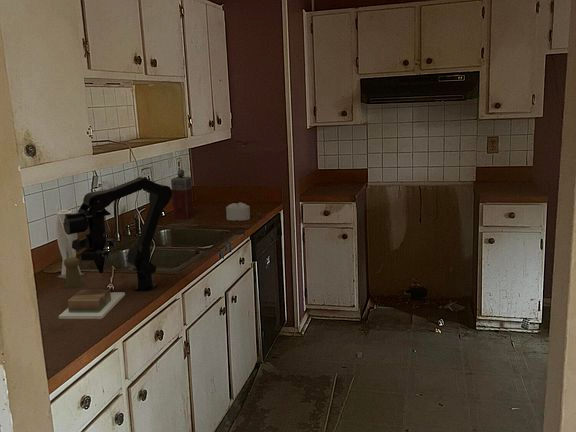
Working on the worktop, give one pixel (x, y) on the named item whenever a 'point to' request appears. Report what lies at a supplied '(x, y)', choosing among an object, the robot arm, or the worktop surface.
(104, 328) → the worktop surface
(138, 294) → the worktop surface
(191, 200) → the square decanter
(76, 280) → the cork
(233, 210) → the lumpy-topped squat cylinder
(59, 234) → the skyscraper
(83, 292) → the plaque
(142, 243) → the robot arm
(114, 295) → the board
